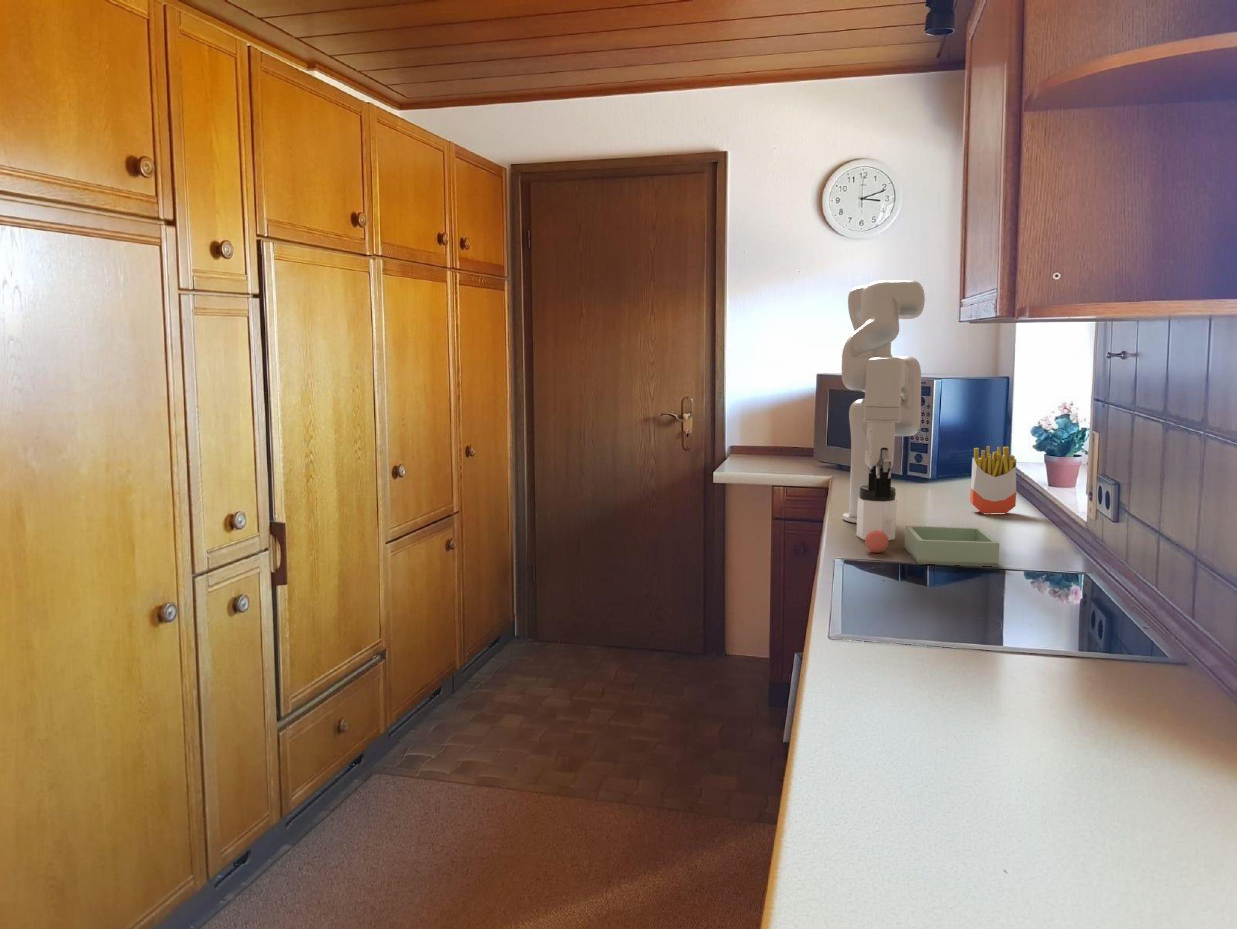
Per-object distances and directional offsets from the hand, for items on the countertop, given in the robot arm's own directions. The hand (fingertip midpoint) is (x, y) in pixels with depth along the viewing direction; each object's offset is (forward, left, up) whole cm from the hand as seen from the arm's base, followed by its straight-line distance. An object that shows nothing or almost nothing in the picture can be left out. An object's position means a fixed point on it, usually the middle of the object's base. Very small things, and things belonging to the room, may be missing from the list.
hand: (878, 493), depth 202 cm
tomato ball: (-1, 0, -11) cm, 11 cm away
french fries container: (-55, +38, -13) cm, 68 cm away
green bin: (+1, +15, -13) cm, 20 cm away
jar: (-17, +2, -13) cm, 21 cm away
